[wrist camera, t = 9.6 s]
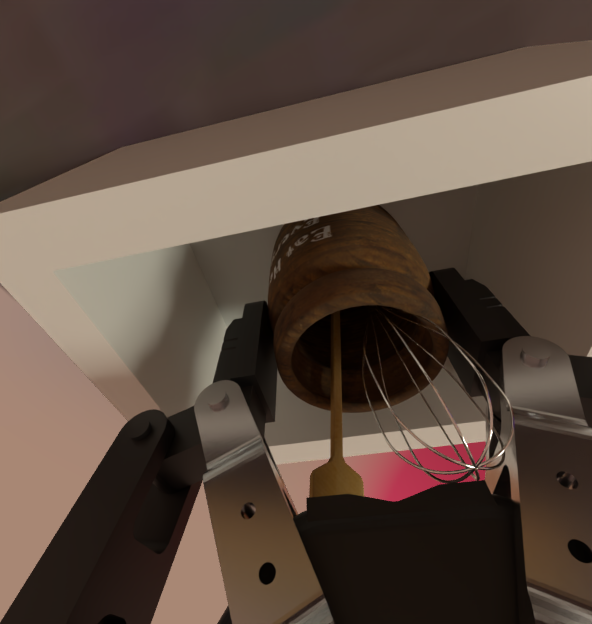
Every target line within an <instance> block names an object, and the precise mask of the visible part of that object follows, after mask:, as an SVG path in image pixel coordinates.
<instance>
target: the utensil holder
mask: <svg viewBox="0 0 592 624" xmlns="http://www.w3.org/2000/svg"><path fill="white" fill-rule="evenodd" d="M268 316H269V321H270V325H271V329H272V331H273V334H274V339H273V345H274V354H275V359H276V364H277V369H278V372H279V375H280V377H281V379H282V381H283V383H284V384H285V385H286V387H287V388H288V389H289V390H290V391H291V392H292V393H293V394H294V395H295V396H296V397H298V398H299V399H301V400H302V401H304V402H306V403H308V404H310V405H312V406H315V407H318V408H321V409H324V410H328V411H331V427H330V459H329V461H328V462H327V463H326V464H324V465H322V466H320V467H318V468H316V469H315V470H313V471H312V473H311V475H310V495H309V496H310V497H320V496H330V495H340V494H353V495H358V496H364V488H363V481H362V478H361V476H360V475H359V474H358V473H356V472H355V471H354V470H353V469H352V468H351V467H350V466H348V465H347V464H346V463H345V461H344V458H343V435H342V413H362V412H370V411H372V412H373V414H374V417H375V419H376V421H377V423H378V426H379V428H380V430H381V432H382V434H383V436H384V438H385V440H386V442H387V444H388V445H389V446H390V448H391V449H392V450H393V451H394V452H395V453H396V454H397V455H398V456H399V457H400V458H402V459H403V460H404V461H405V462H407V463H409V464H410V465H412V466H414V467H416V468H418V469H421V470H423V471H424V472H425V473H426V474H428V475H429V476H430V477H432V478H433V479H435V480H437V481H439V482H442V483H447V484H452V483H458V482H460V481H462V480H464V479H466V478H467V477H468V476H470V475H472V477H473V478H474V479H475V480H477V481H478V480H479V479H480V477H479V473H478V470H477V469H480V470H493V469H497V468H499V467H500V466H501V465H502V464H503V463H504V460H505V449H506V448H507V447H508V445H509V443H510V442H511V439H512V437H513V433H514V426H515V421H514V413H513V409H512V406H511V404H510V401H509V400H508V398H507V396H506V395H505V393H504V392H503V391H502V389H501V388H500V387H499V386H498V384H497V383H496V382H495V381H494V380H493V379H492V378H491V376H490V375H489V374H488V373H487V372H486V371H485V370H484V369H483V367H482V366H481V365H480V364H479V363H478V362H477V361H476V360H475V359H474V358H473V357H472V356H471V355H470V354H469V353H468V352H467V351H466V350H465V349H463V348H462V347H461V346H460V345H459V344H457V343H456V342H454V341H453V340H452V339H451V338H450V337H449V336H448V332H447V328H446V324H445V321H444V317H443V314H442V311H441V309H440V307H439V305H438V303H437V301H436V300H435V298H434V289H433V284H432V280H431V277H430V274H429V272H428V270H427V267H426V265H425V263H424V262H423V260H422V258H421V256H420V255H419V253H418V251H417V250H416V248H415V247H414V245H413V244H412V242H411V241H410V240H409V238H408V237H407V235H406V234H405V232H404V231H403V230H402V228H401V227H400V225H399V224H398V223H397V221H396V220H395V219H394V218H393V217H392V216H391V215H390V214H389V213H388V212H387V211H386V210H385V209H384V208H382V207H381V206H380V205H375V206H370V207H365V208H360V209H355V210H350V211H345V212H340V213H335V214H330V215H326V216H321V217H316V218H311V219H306V220H301V221H296V222H291V223H286V224H284V225H283V227H282V228H281V230H280V232H279V234H278V237H277V239H276V242H275V245H274V249H273V254H272V259H271V267H270V276H269V285H268ZM449 341H451V342H452V344H453V345H454V346H455V347H456V348H457V349H458V351H459V352H460V353H461V354H462V355H463V357H464V358H465V359H466V360H467V361H468V362H469V364H470V365H471V366H472V368H473V369H474V370H475V372H476V373H477V375H478V377H479V378H480V380H481V382H482V385H483V387H484V390H485V393H486V397H487V401H488V406H489V414H490V421H489V419H488V418H487V417H486V415H485V414H484V413H483V411H482V410H481V409H480V408H479V406H478V405H477V404H476V402H475V401H474V400H473V399H472V397H471V396H470V395H469V393H468V392H467V391H466V390H465V389H464V387H463V386H462V385H461V384H460V383H459V382H458V380H457V379H456V378H455V377H454V376H453V375H452V374H451V373H450V372H449V371H448V370H447V369H446V368H445V367H444V364H445V361H446V358H447V355H448V350H449ZM462 350H463V351H464V352H465V353H466V354H467V355H468V356H469V357H470V358H471V359H472V360H473V361H474V362H475V363H476V364H477V365H478V367H479V368H480V369H481V370H482V371H483V372H484V373H485V374H486V376H487V377H488V378H489V379H490V380H491V381H492V383H493V384H494V385H495V386H496V387H497V389H498V390H499V391H500V393H501V394H502V395H503V397H504V398H505V400H506V402H507V404H508V407H509V410H510V414H511V430H510V434H509V437H508V440H507V441H506V443H505V445H503V442H502V440H501V438H500V436H499V434H498V432H497V431H496V429H495V428H494V426H493V410H492V404H491V400H490V396H489V392H488V389H487V386H486V384H485V382H484V380H483V378H482V376H481V374H480V373H479V371H478V370H477V369H476V367H475V366H474V364H473V363H472V362H471V361H470V360H469V358H468V357H467V356H466V355H465V354H464V353H463V351H462ZM442 367H443V368H444V369H445V370H446V371H447V372H448V373H449V375H450V376H451V377H452V378H453V379H454V380H455V381H456V382H457V383H458V385H459V386H460V387H461V388H462V389H463V391H464V392H465V393H466V394H467V396H468V397H469V398H470V399H471V401H472V402H473V403H474V405H475V406H476V407H477V409H478V410H479V411H480V413H481V414H482V415H483V417H484V418H485V419H486V421H487V422H488V423H489V425H490V427H489V435H488V439H487V443H486V446H485V449H484V451H483V453H482V455H481V457H480V458H479V460H478V461H477V463H476V464H475V462H474V459H473V457H472V455H471V452H470V450H469V448H468V446H467V444H466V442H465V440H464V437H463V435H462V434H461V432H460V430H459V428H458V426H457V424H456V422H455V420H454V418H453V417H452V415H451V413H450V411H449V409H448V408H447V406H446V404H445V402H444V401H443V399H442V397H441V396H440V394H439V392H438V391H437V389H436V387H435V386H434V384H433V382H432V381H433V380H434V379H435V378H436V376H437V375H438V374H439V372H440V371H441V369H442ZM429 384H431V386H432V388H433V389H434V391H435V393H436V394H437V396H438V398H439V400H440V401H441V403H442V405H443V407H444V408H445V410H446V412H447V414H448V416H449V417H450V419H451V421H452V423H453V425H454V427H455V429H456V430H457V432H458V434H459V436H460V438H461V440H462V442H463V444H464V447H465V449H466V451H467V453H468V455H469V458H470V460H471V462H472V465H469V464H466V463H465V462H464V460H463V459H462V457H461V456H460V454H459V453H458V451H457V450H456V448H455V446H454V445H453V443H452V442H451V440H450V438H449V437H448V435H447V434H446V432H445V430H444V429H443V427H442V426H441V424H440V422H439V421H438V419H437V417H436V416H435V414H434V413H433V411H432V409H431V408H430V406H429V404H428V403H427V401H426V399H425V398H424V396H423V394H422V393H421V391H422V390H423V389H424V388H426V387H427V386H428V385H429ZM418 393H420V395H421V396H422V398H423V400H424V401H425V403H426V405H427V406H428V408H429V410H430V411H431V413H432V415H433V416H434V418H435V420H436V421H437V423H438V425H439V426H440V428H441V429H442V431H443V433H444V434H445V436H446V438H447V439H448V441H449V443H450V444H451V446H452V447H453V449H454V450H455V452H456V454H457V455H458V457H459V459H460V460H461V462H459V461H456V460H454V459H451V458H449V457H447V456H445V455H443V454H441V453H440V452H438V451H436V450H435V449H433V448H432V447H430V446H429V445H427V444H426V443H425V442H423V441H422V440H421V439H420V438H418V437H417V436H416V435H415V434H414V433H413V432H412V431H411V430H410V429H409V428H408V427H407V426H406V425H405V424H404V423H403V422H402V421H401V420H400V419H399V417H398V416H397V415H396V414H395V412H394V411H393V409H392V407H391V406H394V405H397V404H399V403H401V402H404V401H406V400H408V399H410V398H411V397H413V396H415V395H416V394H418ZM384 408H389V409H390V411H391V412H392V414H393V417H394V419H395V421H396V423H397V425H398V428H399V430H400V432H401V434H402V436H403V438H404V440H405V442H406V444H407V446H408V448H409V450H410V452H411V453H412V455H413V457H414V459H415V461H416V462H417V463H418V465H419V466H418V465H416V464H414V463H412V462H410V461H409V460H407V459H406V458H404V457H403V456H402V455H400V454H399V453H398V452H397V451H396V450H395V449H394V448H393V446H392V445H391V444H390V442H389V441H388V439H387V437H386V435H385V433H384V431H383V429H382V427H381V425H380V423H379V420H378V418H377V416H376V414H375V411H376V410H381V409H384ZM397 420H398V421H399V423H400V424H401V425H402V426H403V427H404V428H405V429H406V430H407V431H408V432H409V433H410V434H411V435H412V436H413V437H414V438H415V439H417V440H418V441H419V442H420V443H421V444H423V445H424V446H425V447H427V448H428V449H429V450H431V451H433V452H434V453H436V454H438V455H439V456H441V457H443V458H445V459H446V460H449V461H451V462H453V463H456V464H458V465H461V466H464V467H466V469H462V470H456V471H435V470H430V469H426V468H424V467H423V466H422V465H421V464H420V462H419V461H418V460H417V458H416V456H415V454H414V453H413V451H412V449H411V447H410V445H409V443H408V441H407V439H406V437H405V435H404V433H403V431H402V429H401V427H400V425H399V423H398V421H397ZM493 431H494V432H495V434H496V436H497V438H498V440H499V442H500V445H501V450H500V451H499V452H498V453H497V454H495V455H494V456H493V457H491V458H490V459H488V460H486V461H484V462H482V460H483V459H484V457H485V455H486V453H487V451H488V448H489V445H490V442H491V438H492V432H493ZM501 454H502V458H501V461H500V462H499V463H498V464H497V465H495V466H491V467H482V466H484V465H486V464H488V463H490V462H492V461H493V460H495V459H496V458H497V457H499V456H500V455H501ZM481 462H482V463H481ZM467 471H468V473H467V474H465V475H464V476H462V477H461V478H459V479H456V480H451V481H445V480H441V479H439V478H436V477H435V476H433V475H431V474H430V473H434V474H458V473H464V472H467ZM474 471H475V473H476V476H475V475H474V474H473V472H474ZM429 472H430V473H429ZM310 497H309V498H310Z"/></svg>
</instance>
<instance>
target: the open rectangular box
mask: <svg viewBox="0 0 592 624" xmlns="http://www.w3.org/2000/svg"><path fill="white" fill-rule="evenodd" d="M375 205H380V206H381V207H382V208H384V209H385V210H386V211H387V212H388V213H389V214H390V215H391V216H392V217H393V218H394V219H395V220H396V221H397V223H398V224H399V225H400V227H401V228H402V230H403V231H404V232H405V234H406V235H407V237H408V238H409V240H410V241H411V242H412V244H413V245H414V247H415V248H416V250H417V251H418V253H419V255H420V256H421V258H422V260H423V262H424V263H425V265H426V267H427V270H428V272H430V271H435V270H441V269H447V268H452V267H453V268H455V269H456V270H457V271H458V273H459V274H460V275H461V276H462V277H463V279H464V280H469V279H473V280H475V281H477V282H479V283H481V284H483V285H485V286H486V287H487V288H488V289H489V290H490V291H491V292H492V293H493V294H494V295H495V298H497V299H498V300H499V301H500V302H501V303H502V306H503V307H505V308H506V309H507V310H508V311H509V312H510V313H511V315H512V316H513V317H514V318H515V319H516V320H517V321H518V322H519V324H520V325H521V326H522V327H523V328H524V329H525V330H526V331H527V332H528V334H529V335H530V336H533V337H539V338H543V339H546V340H548V341H551V342H553V343H555V344H556V345H558V346H559V347H561V348H562V349H563V350H564V351H565V352H566V353H567V354H568V355H576V356H587V357H592V40H590V41H580V42H570V43H560V44H550V45H541V46H531V47H523V48H519V49H515V50H511V51H507V52H503V53H499V54H495V55H491V56H487V57H483V58H479V59H475V60H471V61H467V62H463V63H459V64H455V65H451V66H447V67H443V68H439V69H435V70H431V71H426V72H422V73H418V74H414V75H410V76H406V77H402V78H398V79H394V80H390V81H386V82H382V83H378V84H374V85H370V86H366V87H362V88H358V89H354V90H350V91H346V92H342V93H338V94H334V95H330V96H326V97H322V98H318V99H314V100H310V101H306V102H302V103H298V104H294V105H290V106H286V107H282V108H278V109H274V110H270V111H266V112H262V113H258V114H253V115H249V116H245V117H241V118H237V119H233V120H229V121H225V122H221V123H217V124H213V125H209V126H205V127H201V128H197V129H193V130H189V131H185V132H181V133H177V134H173V135H169V136H165V137H161V138H157V139H153V140H149V141H145V142H141V143H137V144H133V145H129V146H125V147H121V148H119V149H117V150H115V151H112V152H110V153H108V154H106V155H103V156H101V157H99V158H97V159H95V160H92V161H90V162H88V163H86V164H83V165H81V166H79V167H77V168H75V169H72V170H70V171H68V172H66V173H63V174H61V175H59V176H57V177H55V178H52V179H50V180H48V181H46V182H43V183H41V184H39V185H37V186H35V187H32V188H30V189H28V190H26V191H23V192H21V193H19V194H17V195H15V196H12V197H10V198H8V199H6V200H3V201H1V202H0V283H1V284H2V286H3V287H4V288H5V289H6V290H7V291H8V292H9V293H10V294H11V295H12V296H13V297H14V299H15V300H16V301H17V302H18V303H19V304H20V305H21V306H22V307H23V308H24V309H25V310H26V312H27V313H28V314H29V315H30V316H31V317H32V318H33V319H34V320H35V321H36V322H37V323H38V324H39V326H40V327H41V328H42V329H43V330H44V331H45V332H46V333H47V334H48V335H49V336H50V337H51V339H53V341H54V342H55V343H56V344H57V345H58V346H59V347H60V348H61V349H62V350H63V351H64V353H65V354H66V355H67V356H68V357H69V358H70V359H71V360H72V361H73V362H74V363H75V364H76V366H77V367H78V368H79V369H80V370H81V371H82V372H83V373H84V374H85V375H86V376H87V377H88V378H89V380H90V381H91V382H92V383H93V384H94V385H95V386H96V387H97V388H98V389H99V390H100V391H101V393H103V395H104V396H105V397H106V398H107V399H108V400H109V401H110V402H111V403H112V404H113V405H114V407H115V408H116V409H117V410H118V411H119V412H120V413H121V414H122V415H123V416H124V417H125V418H126V420H127V421H129V420H130V419H132V418H133V417H134V416H136V415H137V414H139V413H141V412H144V411H147V410H152V409H156V410H160V411H162V412H163V413H164V414H165V415H166V417H169V416H172V415H174V414H176V413H179V412H181V411H183V410H186V409H188V408H190V407H192V406H194V404H195V401H196V399H197V397H198V396H199V394H200V393H201V392H202V391H203V390H204V389H205V388H206V387H208V386H209V385H211V384H212V383H213V379H214V375H215V371H216V367H217V363H218V359H219V355H220V352H221V348H222V344H223V342H224V336H225V332H226V329H227V328H228V326H229V325H230V324H231V322H232V321H233V320H234V319H239V318H242V315H243V310H244V306H245V304H246V303H252V302H258V301H263V300H265V301H266V302H267V305H268V285H269V276H270V267H271V259H272V254H273V249H274V245H275V242H276V239H277V237H278V234H279V232H280V230H281V228H282V227H283V225H284V224H286V223H291V222H296V221H301V220H306V219H311V218H316V217H321V216H326V215H330V214H335V213H340V212H345V211H350V210H355V209H360V208H365V207H370V206H375ZM444 367H445V368H446V369H447V370H448V371H449V372H450V373H451V374H452V375H453V376H454V377H455V378H456V379H457V380H458V382H459V383H460V384H461V385H462V386H463V384H462V382H461V381H460V379H459V377H458V375H457V373H456V371H455V369H454V368H453V366H452V364H451V362H450V360H449V358H448V356H447V358H446V361H445V364H444ZM432 382H433V384H434V386H435V387H436V389H437V391H438V392H439V394H440V396H441V397H442V399H443V401H444V402H445V404H446V406H447V408H448V409H449V411H450V413H451V415H452V417H453V418H454V420H455V422H456V424H457V426H458V428H459V430H460V432H461V434H462V435H463V437H464V440H465V442H466V443H473V442H481V441H486V419H485V418H484V417H483V415H482V414H481V413H480V411H479V410H478V409H477V407H476V406H475V405H474V403H473V402H472V401H471V399H470V398H469V397H468V396H467V394H466V393H465V392H464V391H463V389H462V388H461V387H460V386H459V385H458V383H457V382H456V381H455V380H454V379H453V378H452V377H451V376H450V375H449V373H448V372H447V371H446V370H445V369H444V368H443V367H442V369H441V371H440V372H439V374H438V375H437V376H436V378H435V379H434V380H433V381H432ZM463 387H464V386H463ZM464 389H465V388H464ZM421 393H422V394H423V396H424V398H425V399H426V401H427V403H428V404H429V406H430V408H431V409H432V411H433V413H434V414H435V416H436V417H437V419H438V421H439V422H440V424H441V426H442V427H443V429H444V430H445V432H446V434H447V435H448V437H449V438H450V440H451V442H452V443H453V445H454V444H463V442H462V440H461V438H460V436H459V434H458V432H457V430H456V429H455V427H454V425H453V423H452V421H451V419H450V417H449V416H448V414H447V412H446V410H445V408H444V407H443V405H442V403H441V401H440V400H439V398H438V396H437V394H436V393H435V391H434V389H433V388H432V386H431V384H429V385H428V386H427V387H426V388H424V389H423V390H422V391H421ZM472 399H473V400H474V401H475V402H476V404H477V405H478V406H479V408H480V409H481V410H482V411H483V413H484V414H485V415H486V413H485V412H486V407H487V402H486V400H485V398H484V397H483V396H477V397H472ZM391 407H392V409H393V411H394V412H395V414H396V415H397V416H398V417H399V419H400V420H401V421H402V422H403V423H404V424H405V425H406V426H407V427H408V428H409V429H410V430H411V431H412V432H413V433H414V434H415V435H416V436H417V437H418V438H420V439H421V440H422V441H423V442H425V443H426V444H427V445H429V446H430V447H436V446H446V445H451V444H450V443H449V441H448V439H447V438H446V436H445V434H444V433H443V431H442V429H441V428H440V426H439V425H438V423H437V421H436V420H435V418H434V416H433V415H432V413H431V411H430V410H429V408H428V406H427V405H426V403H425V401H424V400H423V398H422V396H421V395H420V393H418V394H416V395H415V396H413V397H411V398H410V399H408V400H406V401H404V402H401V403H399V404H397V405H394V406H391ZM375 414H376V416H377V418H378V420H379V423H380V425H381V427H382V429H383V431H384V433H385V435H386V437H387V439H388V441H389V442H390V444H391V445H392V446H393V448H394V449H395V450H396V451H402V450H409V448H408V446H407V444H406V442H405V440H404V438H403V436H402V434H401V432H400V430H399V428H398V425H397V423H396V421H395V419H394V417H393V414H392V412H391V411H390V409H389V408H384V409H381V410H376V411H375ZM397 421H398V420H397ZM398 423H399V421H398ZM399 425H400V427H401V429H402V431H403V433H404V435H405V437H406V439H407V441H408V443H409V445H410V447H411V449H419V448H427V447H425V446H424V445H423V444H421V443H420V442H419V441H418V440H417V439H415V438H414V437H413V436H412V435H411V434H410V433H409V432H408V431H407V430H406V429H405V428H404V427H403V426H402V425H401V424H400V423H399ZM330 427H331V411H328V410H324V409H321V408H318V407H315V406H312V405H310V404H308V403H306V402H304V401H302V400H301V399H299V398H298V397H296V396H295V395H294V394H293V393H292V392H291V391H290V390H289V389H288V388H287V387H286V385H285V384H284V383H283V381H282V379H281V377H280V375H279V372H278V370H277V391H276V412H275V422H270V423H265V433H264V437H265V439H266V441H267V444H268V446H269V448H270V451H271V453H272V455H273V458H274V460H275V462H276V465H277V464H286V463H295V462H303V461H313V460H321V459H330ZM342 435H343V457H348V456H357V455H366V454H374V453H383V452H392V451H393V450H392V449H391V448H390V446H389V445H388V444H387V442H386V440H385V438H384V436H383V434H382V432H381V430H380V428H379V426H378V423H377V421H376V419H375V417H374V414H373V412H372V411H370V412H362V413H342Z"/></svg>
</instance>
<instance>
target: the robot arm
mask: <svg viewBox="0 0 592 624" xmlns="http://www.w3.org/2000/svg"><path fill="white" fill-rule="evenodd" d="M429 274H430V277H431V280H432V284H433V289H434V298H435V300H436V301H437V303H438V305H439V307H440V309H441V311H442V314H443V317H444V321H445V324H446V328H447V332H448V336H449V337H450V338H451V339H452V340H453V341H454V342H456V343H457V344H459V345H460V346H461V347H462V348H463V349H465V350H466V351H467V352H468V353H469V354H470V355H471V356H472V357H473V358H474V359H475V360H476V361H477V362H478V363H479V364H480V365H481V366H482V367H483V369H484V370H485V371H486V372H487V373H488V374H489V375H490V376H491V378H492V379H493V380H494V381H495V382H496V383H497V384H498V386H499V387H500V388H501V389H502V391H503V392H504V393H505V395H506V396H507V398H508V400H509V401H510V404H511V406H512V409H513V413H514V421H515V426H514V433H513V437H512V439H511V442H510V443H509V445H508V447H507V448H506V449H505V460H504V463H503V464H502V465H501V466H500V467H499V468H497V469H493V470H486V475H485V480H482V481H472V482H462V483H452V484H441V485H437V486H435V487H433V488H430V489H427V490H425V491H422V492H420V493H418V494H415V495H413V496H410V497H408V498H406V499H403V500H400V501H396V502H392V501H386V500H380V499H375V498H369V497H364V496H358V495H353V494H340V495H330V496H320V497H310V498H307V511H304V512H302V513H300V514H298V513H297V510H296V508H295V506H294V504H293V501H292V499H291V497H290V495H289V493H288V491H287V488H286V486H285V484H284V481H283V479H282V477H281V474H280V472H279V469H278V467H277V465H276V462H275V460H274V458H273V455H272V453H271V451H270V448H269V446H268V444H267V441H266V439H265V437H264V433H265V423H270V422H275V412H276V391H277V370H278V369H277V364H276V359H275V354H274V345H273V339H274V334H273V331H272V329H271V325H270V321H269V316H268V305H267V302H266V301H265V300H263V301H258V302H252V303H246V304H245V306H244V310H243V315H242V318H239V319H234V320H233V321H232V322H231V324H230V325H229V326H228V328H227V329H226V332H225V336H224V342H223V344H222V348H221V352H220V355H219V359H218V363H217V367H216V371H215V375H214V379H213V383H212V384H211V385H209V386H208V387H206V388H205V389H204V390H203V391H202V392H201V393H200V394H199V396H198V397H197V399H196V401H195V404H194V406H192V407H190V408H188V409H186V410H183V411H181V412H179V413H176V414H174V415H172V416H169V417H166V415H165V414H164V413H163V412H162V411H160V410H156V409H152V410H147V411H144V412H141V413H139V414H137V415H136V416H134V417H133V418H132V419H130V420H129V421H128V422H127V423H126V424H125V426H124V427H123V428H122V429H121V431H120V432H119V434H118V436H117V437H116V439H115V441H114V442H113V444H112V445H111V447H110V448H109V450H108V452H107V453H106V455H105V456H104V458H103V460H102V461H101V463H100V464H99V466H98V468H97V469H96V471H95V472H94V474H93V475H92V477H91V479H90V480H89V482H88V483H87V485H86V487H85V488H84V490H83V491H82V493H81V495H80V496H79V498H78V499H77V501H76V503H75V504H74V506H73V507H72V509H71V511H70V512H69V514H68V515H67V517H66V519H65V520H64V522H63V523H62V525H61V526H60V528H59V530H58V531H57V533H56V534H55V536H54V538H53V539H52V541H51V543H50V544H49V546H48V547H47V549H46V550H45V552H44V554H43V555H42V557H41V558H40V560H39V562H38V563H37V565H36V566H35V568H34V570H33V571H32V573H31V574H30V576H29V578H28V579H27V581H26V582H25V584H24V586H23V587H22V589H21V590H20V592H19V593H18V595H17V597H16V598H15V600H14V602H13V603H12V605H11V606H10V608H9V609H8V611H7V613H6V614H5V616H4V618H3V619H2V621H1V622H0V624H151V621H152V618H153V616H154V613H155V610H156V607H157V605H158V602H159V599H160V596H161V593H162V591H163V588H164V585H165V583H166V580H167V577H168V574H169V571H170V569H171V566H172V563H173V561H174V558H175V555H176V552H177V549H178V546H179V544H180V541H181V538H182V536H183V533H184V530H185V527H186V525H187V522H188V519H189V516H190V514H191V511H192V508H193V505H194V503H195V500H196V497H197V494H198V492H199V489H200V486H201V483H202V480H203V484H204V489H205V493H206V499H207V504H208V508H209V513H210V518H211V523H212V528H213V532H214V537H215V542H216V547H217V552H218V557H219V562H220V567H221V571H222V576H223V581H224V586H225V591H226V595H227V600H228V607H227V609H226V610H225V612H224V614H223V615H222V617H221V619H220V620H219V622H218V623H217V624H592V357H587V356H576V355H568V354H567V353H566V352H565V351H564V350H563V349H562V348H561V347H559V346H558V345H556V344H555V343H553V342H551V341H548V340H546V339H543V338H539V337H533V336H530V335H529V334H528V332H527V331H526V330H525V329H524V328H523V327H522V326H521V325H520V324H519V322H518V321H517V320H516V319H515V318H514V317H513V316H512V315H511V313H510V312H509V311H508V310H507V309H506V308H505V307H503V306H502V303H501V302H500V301H499V300H498V299H497V298H495V295H494V294H493V293H492V292H491V291H490V290H489V289H488V288H487V287H486V286H485V285H483V284H481V283H479V282H477V281H475V280H473V279H469V280H464V279H463V277H462V276H461V275H460V274H459V273H458V271H457V270H456V269H455V268H453V267H452V268H447V269H441V270H435V271H430V272H429ZM462 351H463V350H462ZM463 353H464V354H465V355H466V356H467V357H468V358H469V360H470V361H471V362H472V363H473V364H474V366H475V367H476V369H477V370H478V371H479V373H480V374H481V376H482V378H483V380H484V382H485V384H486V386H487V389H488V392H489V396H490V400H491V404H492V410H493V426H494V428H495V429H496V431H497V432H498V434H499V436H500V438H501V440H502V442H503V445H505V443H506V441H507V440H508V437H509V434H510V430H511V414H510V410H509V407H508V404H507V402H506V400H505V398H504V397H503V395H502V394H501V393H500V391H499V390H498V389H497V387H496V386H495V385H494V384H493V383H492V381H491V380H490V379H489V378H488V377H487V376H486V374H485V373H484V372H483V371H482V370H481V369H480V368H479V367H478V365H477V364H476V363H475V362H474V361H473V360H472V359H471V358H470V357H469V356H468V355H467V354H466V353H465V352H464V351H463ZM447 356H448V358H449V360H450V362H451V364H452V366H453V368H454V369H455V371H456V373H457V375H458V377H459V379H460V381H461V382H462V384H463V386H464V388H465V390H466V391H467V392H468V393H469V395H470V396H471V397H477V396H483V397H484V398H485V400H486V402H487V407H486V412H485V413H486V417H487V418H488V419H489V421H490V414H489V406H488V401H487V397H486V393H485V390H484V387H483V385H482V382H481V380H480V378H479V377H478V375H477V373H476V372H475V370H474V369H473V368H472V366H471V365H470V364H469V362H468V361H467V360H466V359H465V358H464V357H463V355H462V354H461V353H460V352H459V351H458V349H457V348H456V347H455V346H454V345H453V344H452V342H451V341H449V350H448V355H447ZM489 427H490V425H489V423H488V422H487V421H486V443H487V439H488V435H489ZM500 450H501V445H500V442H499V440H498V438H497V436H496V434H495V432H494V431H493V432H492V438H491V442H490V445H489V448H488V451H487V453H486V460H488V459H490V458H491V457H493V456H494V455H495V454H497V453H498V452H499V451H500ZM501 458H502V454H501V455H500V456H499V457H497V458H496V459H495V460H493V461H492V462H490V463H488V464H486V467H491V466H495V465H497V464H498V463H499V462H500V461H501Z"/></svg>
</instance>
